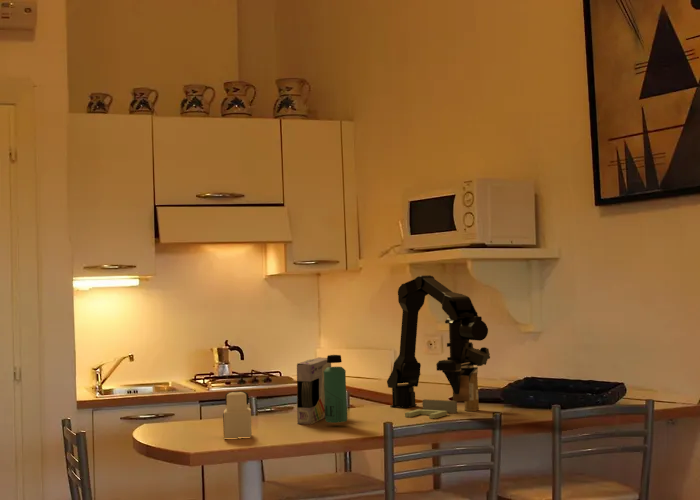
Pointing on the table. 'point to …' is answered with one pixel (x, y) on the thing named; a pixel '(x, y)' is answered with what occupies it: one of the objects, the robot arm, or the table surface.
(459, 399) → the brown piece
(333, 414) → the beverage bottle
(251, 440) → the table surface
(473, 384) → the sprinkles bottle
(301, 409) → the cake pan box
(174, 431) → the table surface
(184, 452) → the table surface
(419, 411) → the bracket
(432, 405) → the backstop wall
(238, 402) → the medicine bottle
